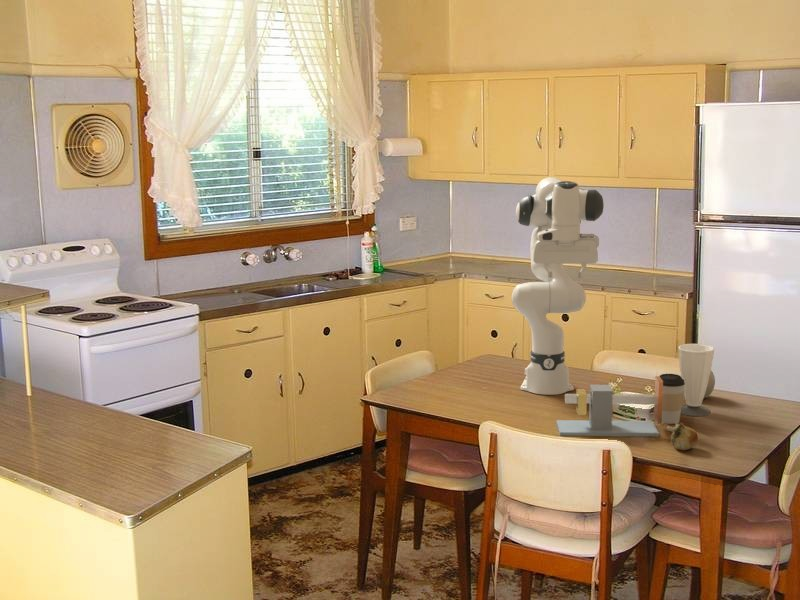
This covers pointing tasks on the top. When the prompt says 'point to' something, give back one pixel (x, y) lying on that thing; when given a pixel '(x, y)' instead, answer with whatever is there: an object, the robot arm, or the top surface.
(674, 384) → the coffee cup
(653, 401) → the shaft
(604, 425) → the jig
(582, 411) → the block
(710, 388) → the fruit
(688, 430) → the onion
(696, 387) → the cup
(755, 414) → the top surface
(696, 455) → the top surface
